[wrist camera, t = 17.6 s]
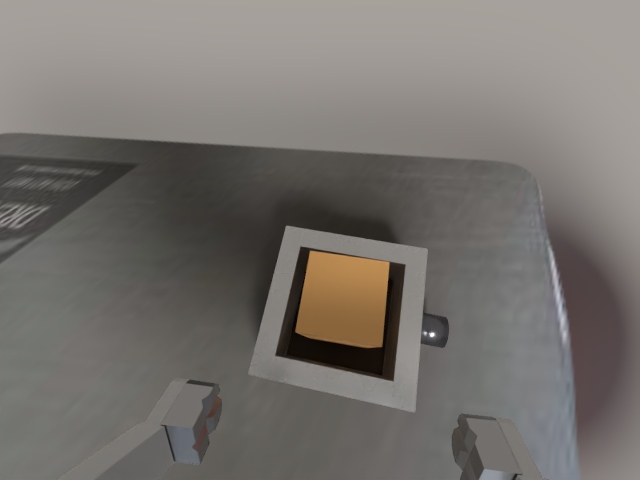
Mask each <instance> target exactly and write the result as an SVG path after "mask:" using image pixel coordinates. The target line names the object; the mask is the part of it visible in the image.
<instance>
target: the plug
mask: <svg viewBox="0 0 640 480" xmlns="http://www.w3.org/2000/svg"><path fill="white" fill-rule="evenodd" d="M389 263H390V262H386V261H379V260H372V259H365V258H358V257H351V256H344V255H337V254H330V253H323V252H316V251H310V254H309V260H308V265H307V270H306V276H305V281H304V287H303V292H302V297H301V303H300V308H299V314H298V319H297V324H296V330H295V332H296V333H299V334H301V335H303V336H305V337H307V338H310V339H314V340H320V341H325V342H331V343H337V344H343V345H349V346H354V347H360V348H374V347H382V343H383V332H384V320H385V309H386V297H387V286H388V275H389Z"/></svg>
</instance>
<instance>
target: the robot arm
mask: <svg viewBox="0 0 640 480" xmlns="http://www.w3.org/2000/svg"><path fill="white" fill-rule="evenodd" d="M219 392H220V388H219V384H215V383H209V382H202V381H195V380H189V379H181V378H175V379H174V380H173V381H172V382H171V383H170V384H169V386H168V387H167V389H166V390H165V392H164V393H163V395H162V396H161V398H160V399H159V401H158V402H157V404H156V405H155V407H154V408H153V410H152V411H151V413H150V414H149V416H148V417H147V419H146V420H145V422H144V423H138V424H137V425H135V426H134V427H132V428H131V429H129V430H128V431H126V432H125V433H123V434H122V435H121V436H119V437H118V438H116V439H115V440H113V441H112V442H110V443H109V444H107V445H106V446H105V447H103V448H102V449H100V450H99V451H97V452H96V453H94V454H93V455H91V456H90V457H89V458H87V459H86V460H84V461H83V462H81V463H80V464H78V465H77V466H75V467H74V468H73V469H71V470H70V471H68V472H67V473H65V474H64V475H62V476H61V477H59V478H58V479H57V480H158V479H159V478H160V477H161V476H162V475H164V474H165V473H166V472H167V471H168V470H169V469H170V468H171V467H172V466H173V465H174V462H180V463H189V464H198V465H200V464H201V462H202V460H203V457H204V455H205V453H206V450H207V448H208V446H209V443H210V442H209V437H208V435H209V434H210V433H212V432H213V431H214V430H215V429H216V427H217V424H218V422H219V419H220V415H221V411H222V401H221V399H220V398H219V397H218V394H219ZM457 421H458V425H459V427H457V428H456V429H454V431H453V434H452V450H453V455H454V459H455V462H456V464H457V465H458V466H459V467H460V468H461V469H462V471H463V472H462V474H461V477H460V480H548V479H545V478H542V476H541V474H540V472H539V470H538V469H537V467H536V465H535V463H534V461H533V459H532V457H531V455H530V453H529V451H528V449H527V447H526V445H525V443H524V441H523V439H522V437H521V435H520V433H519V431H518V429H517V427H516V426H515V424H514V423H513V422H512V420H509V419H501V418H493V417H488V416H478V415H469V414H461V415H459V417H458V420H457Z"/></svg>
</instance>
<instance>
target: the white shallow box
mask: <svg viewBox="0 0 640 480" xmlns="http://www.w3.org/2000/svg"><path fill="white" fill-rule="evenodd" d="M310 251H316V252H323V253H330V254H337V255H344V256H351V257H358V258H365V259H372V260H379V261H386V262H390V263H389V275H388V279H391V280H393V284H392V293H391V302H390V310H389V319H388V328H387V336H386V345H385V354H384V362H383V371H382V375H379V374H374V373H369V372H365V371H360V370H355V369H351V368H346V367H342V366H337V365H332V364H328V363H323V362H318V361H314V360H309V359H305V358H300V357H295V356H291V355H287V351H288V346H289V342H290V337H291V333H292V328H293V323H294V319H295V314H296V310H297V305H298V301H299V296H300V292H301V287H302V283H303V278H304V273H305V269H306V264H307V265H308V260H309V254H310ZM427 251H428V249H425V248H419V247H413V246H407V245H401V244H395V243H389V242H383V241H377V240H370V239H364V238H358V237H352V236H346V235H340V234H334V233H328V232H322V231H316V230H310V229H304V228H298V227H292V226H286V228H285V232H284V236H283V240H282V244H281V248H280V252H279V256H278V259H277V263H276V267H275V271H274V275H273V279H272V283H271V287H270V291H269V295H268V299H267V302H266V306H265V310H264V314H263V318H262V322H261V326H260V330H259V334H258V338H257V342H256V345H255V349H254V353H253V357H252V361H251V365H250V369H249V373H248V375H252V376H257V377H261V378H265V379H270V380H274V381H279V382H283V383H287V384H292V385H296V386H301V387H305V388H309V389H314V390H318V391H323V392H327V393H331V394H336V395H340V396H345V397H349V398H353V399H358V400H362V401H367V402H371V403H375V404H380V405H384V406H389V407H393V408H397V409H402V410H406V411H411V412H415V407H416V394H417V381H418V368H419V355H420V343H421V344H426V345H431V346H436V347H441V348H443V347H445V345H446V343H447V340H448V334H449V325H448V320H447V318H446V317H443V316H438V315H432V314H427V313H423V303H424V290H425V277H426V264H427Z"/></svg>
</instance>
